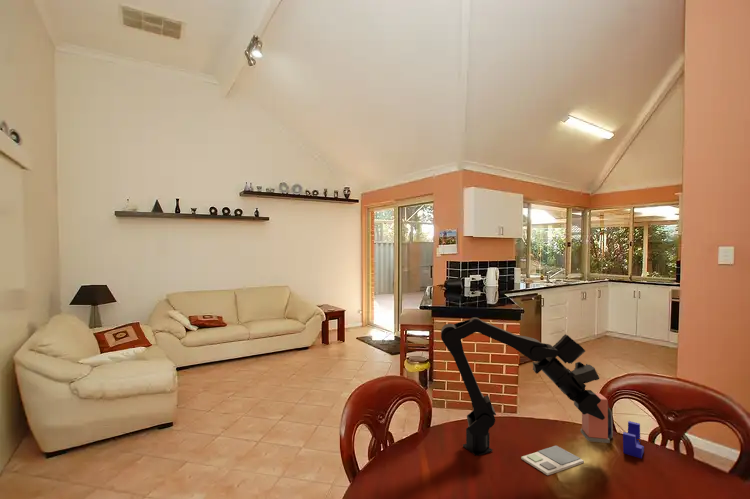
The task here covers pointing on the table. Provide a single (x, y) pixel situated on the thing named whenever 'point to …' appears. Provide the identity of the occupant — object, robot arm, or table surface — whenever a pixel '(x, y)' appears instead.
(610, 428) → the supplement bottle
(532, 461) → the panel board
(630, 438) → the blue cradle bracket
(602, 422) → the salmon block on plinth
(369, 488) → the table surface
